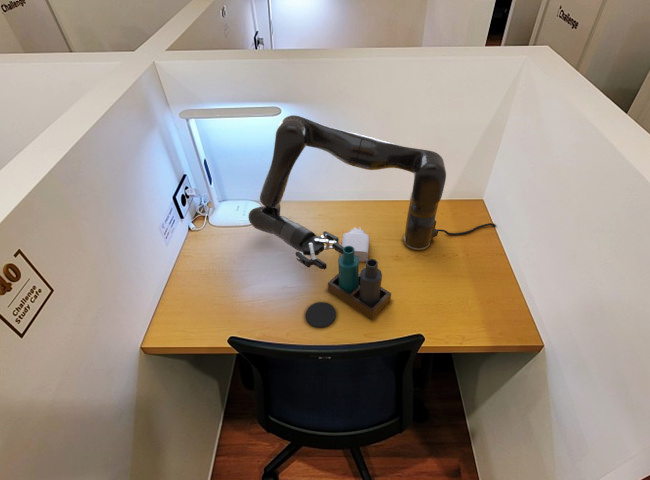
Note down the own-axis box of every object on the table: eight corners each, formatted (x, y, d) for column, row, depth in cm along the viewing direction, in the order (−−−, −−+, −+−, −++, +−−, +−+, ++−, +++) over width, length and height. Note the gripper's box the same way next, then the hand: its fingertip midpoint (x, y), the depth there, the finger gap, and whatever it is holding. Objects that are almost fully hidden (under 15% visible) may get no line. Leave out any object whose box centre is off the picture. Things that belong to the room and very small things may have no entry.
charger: (370, 233, 135) (367, 262, 124) (345, 231, 136) (340, 260, 125) (370, 223, 131) (368, 252, 121) (345, 221, 132) (340, 250, 122)
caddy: (346, 274, 120) (346, 266, 118) (390, 301, 112) (391, 293, 110) (328, 291, 116) (327, 282, 113) (372, 320, 108) (372, 312, 105)
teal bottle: (351, 280, 119) (352, 239, 106) (361, 292, 115) (363, 252, 103) (335, 287, 117) (334, 247, 104) (345, 299, 113) (344, 259, 101)
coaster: (327, 299, 113) (326, 297, 113) (341, 319, 108) (341, 318, 107) (300, 310, 110) (300, 309, 110) (313, 332, 105) (313, 331, 104)
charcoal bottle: (372, 292, 115) (375, 252, 102) (382, 305, 111) (387, 265, 99) (355, 300, 113) (356, 260, 100) (366, 313, 109) (368, 273, 97)
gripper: (279, 239, 112) (318, 263, 105) (312, 216, 120) (350, 238, 112) (283, 256, 118) (319, 280, 110) (313, 234, 125) (350, 255, 118)
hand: (335, 259), depth 111 cm, fingers open, 8 cm apart
